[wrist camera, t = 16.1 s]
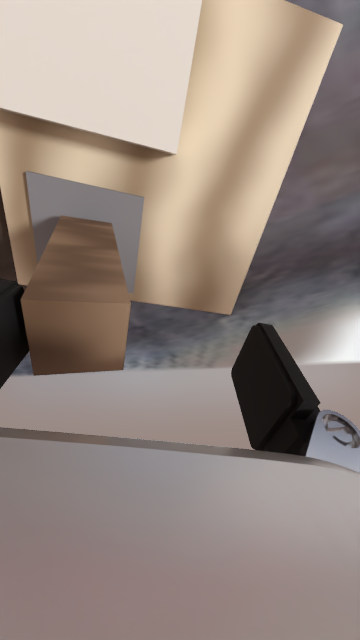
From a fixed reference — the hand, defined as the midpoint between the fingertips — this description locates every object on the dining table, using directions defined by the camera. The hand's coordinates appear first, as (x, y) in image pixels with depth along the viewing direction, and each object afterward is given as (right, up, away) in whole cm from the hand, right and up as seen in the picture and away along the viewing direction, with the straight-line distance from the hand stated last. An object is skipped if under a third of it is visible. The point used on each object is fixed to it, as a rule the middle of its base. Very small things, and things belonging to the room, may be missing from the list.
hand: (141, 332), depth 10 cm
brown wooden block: (-6, +7, +8) cm, 12 cm away
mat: (-6, +7, +9) cm, 13 cm away
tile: (+2, +15, +3) cm, 15 cm away
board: (-1, +11, +8) cm, 14 cm away
